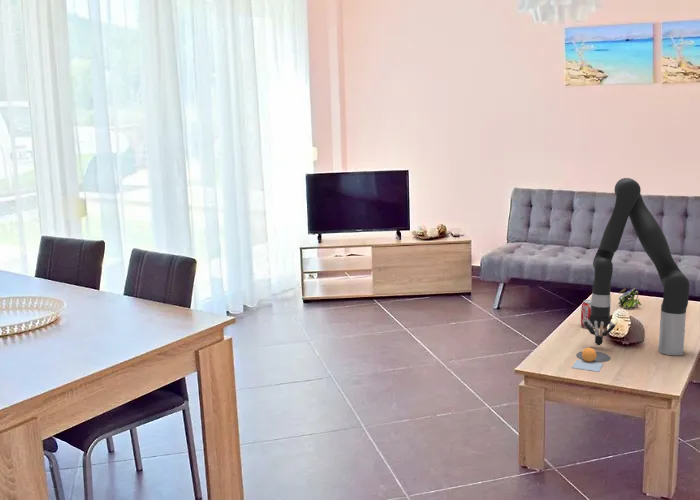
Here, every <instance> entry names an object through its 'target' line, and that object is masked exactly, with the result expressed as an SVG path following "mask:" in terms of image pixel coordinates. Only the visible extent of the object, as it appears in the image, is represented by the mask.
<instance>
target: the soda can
mask: <svg viewBox="0 0 700 500" xmlns="http://www.w3.org/2000/svg"><path fill="white" fill-rule="evenodd" d="M580 311H581V313H580V326H581V327H582V328H584V329H587V328H586V326H585V325H584V322H585V321H587V320H589V317H590V315H591V299H584V300H583V301H582V303H581V310H580ZM590 323H591V322H590ZM590 325H591V327H592V328H593V329H595V327H594V326H593V325H592V324H590Z"/></svg>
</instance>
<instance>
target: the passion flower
mask: <svg viewBox="0 0 700 500" xmlns="http://www.w3.org/2000/svg"><path fill="white" fill-rule="evenodd" d="M635 289H636V288H635V287H634V288H632V289H629V290H628V291H626V290H627V288H623V289H621V291H619V295H620V294H622V295H620V296H619V297H618V300H619V302H618V305H621V306H622V307H623V309H624V308H625V309H629V308H634V307H635V306H636V307H637V309H638V305H639V306H642V303H641V302H640V299H638V297H639V291H638V290H636V291H635ZM635 296H636V299H635Z"/></svg>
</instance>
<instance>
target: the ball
mask: <svg viewBox="0 0 700 500" xmlns="http://www.w3.org/2000/svg"><path fill="white" fill-rule="evenodd" d="M582 351H583V352H582ZM582 351H581V352H582V357H583V359H584V360H583V361H587V362H592V361H594V360H595V359H596V356H597V354H596V352H597V351H596V349H594V348H592V347H586V348H584V349H583V350H582Z"/></svg>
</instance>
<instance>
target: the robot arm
mask: <svg viewBox="0 0 700 500" xmlns="http://www.w3.org/2000/svg"><path fill="white" fill-rule="evenodd" d="M641 191H642V190H641V185H640V184H639V183H638V181H637V180H635V179H633V178H631V177H630V178H629V177H623V178H620V179H619V180H618V181H617V182H616V183H615V185H614V194H615V197H616V198H615V203H614V208H613V211H612V213H611V216H610V218H609V221H608V222H607V223H606V226H605V229H604V231H603V234H602V236H601V241H600V243H599V244H600V245H599V247H598V248H597V250H596V253H595V255H594V257H593V262H592V266H593V268H594V277H593V278H594V280H593V282H592V290H591V291H592V293H591V298H590V300H591V315H590V317H589V320H587V321H585V322H584V325H585V326H586V328H585V329H587V331H589V333H590V335H593V336H595V337H594V344H596V345H597V346H601V345H602V344H603V342H604V341H603V340H604V337H606V336H608V335H609V334H610V333H611V332H612V331H613V330H614V329H615V327H616V325H617V324H615V323H613V322H612V320H611V317H610V316H611V302H612V300H611V299H612V298H611V292H612V291H611V287H612V284H611V283H612V277H613V271H614V267H613V266H614V265H613V262H612V260H613V257H614V255H615V253H616V252H617V251H618V249H619V246H620V243H621V240H622V238H623V234H624V231H625V228H626V225H627V222H628V220H630V223H631V225H632V228H633V230H634V231H635V234H636V236H637V239H638V240H639V244H641V246H642V248H643V250H644V252H645V253H646V254H647V256H648V257H649V259H650V260H651V261H652V263H653V265H654V266H655V269H656V271H657V273H658V276H659V279H660V281H661V285H662V287H663V297H662V303H661V305H660V306H661V308H660V319H659V333H658V334H659V335H658V336H659V337H658V347H657V348H658V352H659V353H661V354H663V355H666V356H683V354H684V350H685V349H684V348H685V346H684V345H685V333H686V316H687V307H688V305H689V296H690V281H689V279H688V277H686V275H685V274H684V273H683V272H682V271H681V268H679V266H678V265H677V263H676V262H675V261H676V260H674V258H673V255H672V253H671V250H670V245H669V243H668V241H667V237H666V236H665V234H664V232H663V230H662V228H661V226H660V223H658V222H657V220H656V219H655V216H654V215H653V214H652V213H651V212H650V210H649V209H648V207H647V206H646V204H645V202H644V200H643V197H642V194H641ZM590 322H591V323H590ZM590 324H592V325H593V326H594V327H595V328H592V327H591V325H590ZM607 327H608V329H606V328H607ZM605 329H606V331H605Z"/></svg>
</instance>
